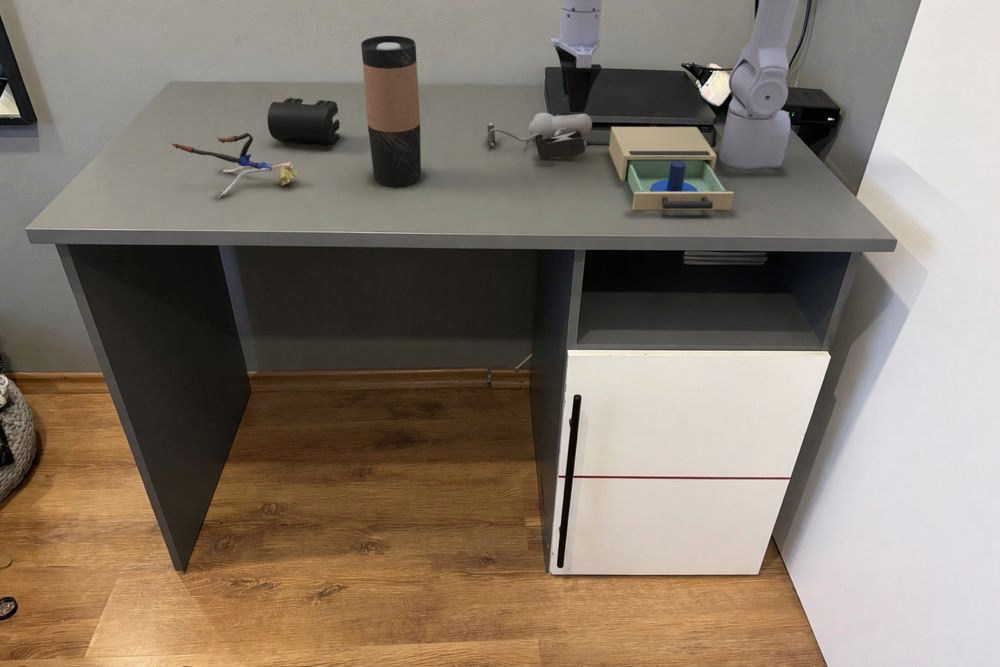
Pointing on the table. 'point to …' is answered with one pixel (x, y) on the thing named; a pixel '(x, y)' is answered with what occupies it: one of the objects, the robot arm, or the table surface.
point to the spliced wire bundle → (245, 161)
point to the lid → (674, 180)
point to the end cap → (303, 122)
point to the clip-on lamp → (554, 134)
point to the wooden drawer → (696, 174)
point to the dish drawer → (658, 145)
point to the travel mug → (392, 109)
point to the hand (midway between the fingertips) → (574, 102)
